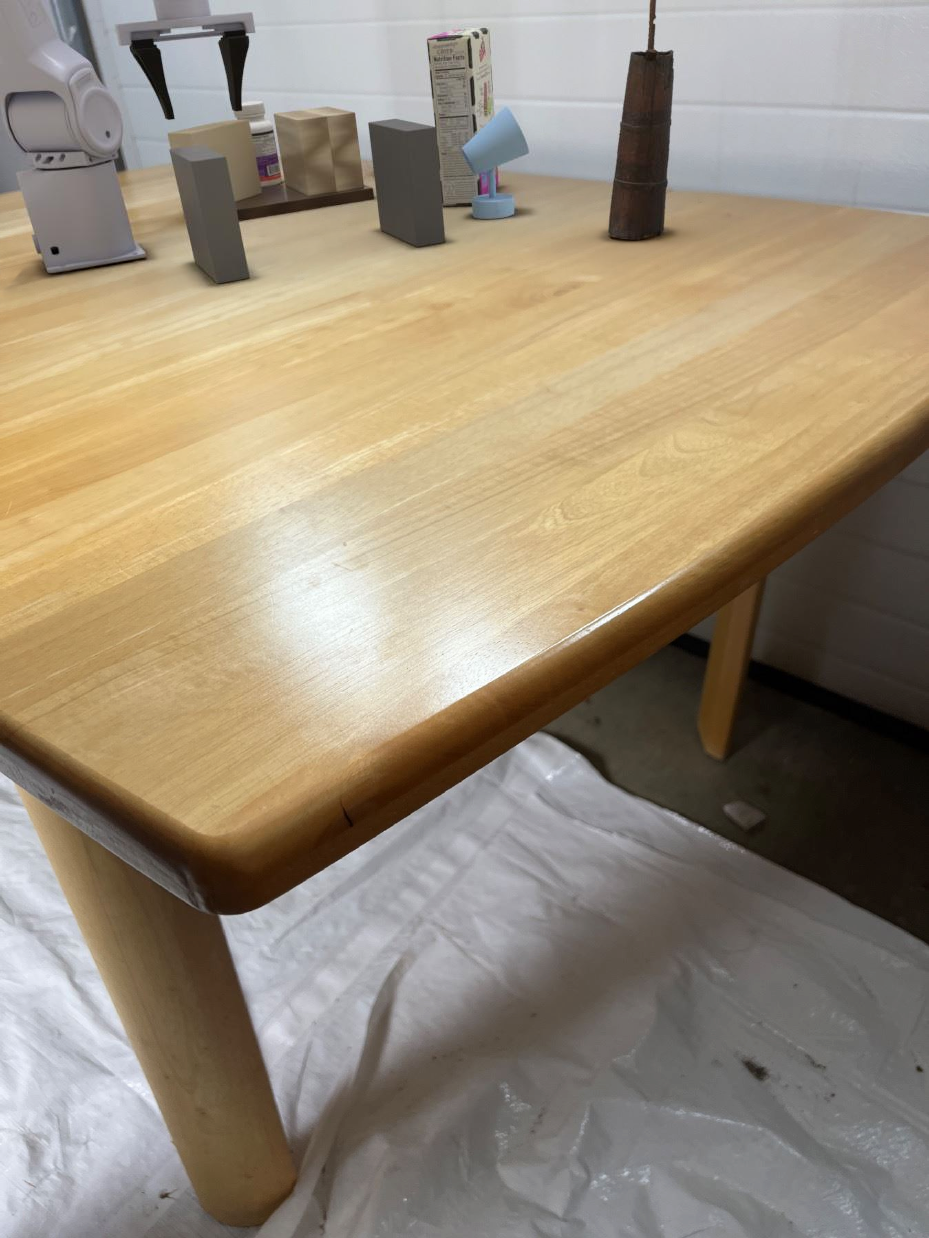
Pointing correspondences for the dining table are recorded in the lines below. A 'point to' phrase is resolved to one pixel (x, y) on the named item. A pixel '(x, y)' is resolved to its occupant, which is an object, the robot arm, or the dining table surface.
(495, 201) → the spotlight
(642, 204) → the butter churn
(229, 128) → the cream book
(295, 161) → the shelf board
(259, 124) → the pill bottle
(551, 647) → the dining table surface
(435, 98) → the candy bar box
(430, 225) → the grey books
